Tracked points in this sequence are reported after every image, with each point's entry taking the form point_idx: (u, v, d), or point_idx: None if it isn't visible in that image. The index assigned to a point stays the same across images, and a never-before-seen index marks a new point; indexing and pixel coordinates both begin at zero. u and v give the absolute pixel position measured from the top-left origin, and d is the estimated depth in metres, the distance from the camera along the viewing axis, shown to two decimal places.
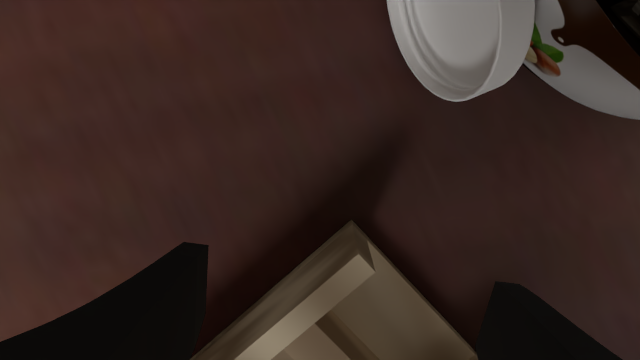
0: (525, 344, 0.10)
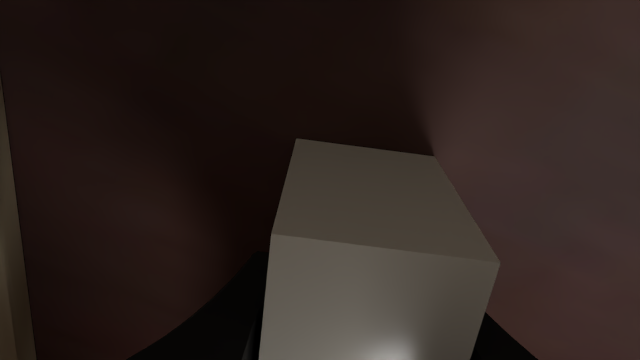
0: None
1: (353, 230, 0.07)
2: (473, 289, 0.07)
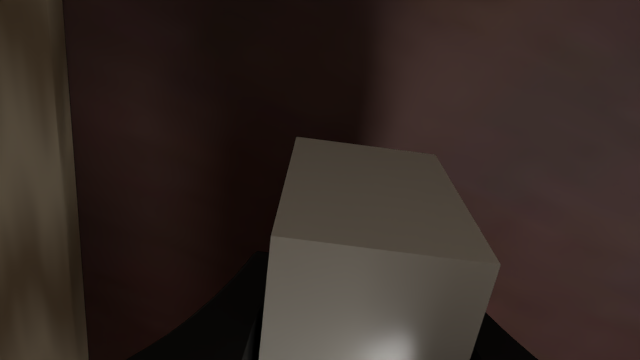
0: None
1: (353, 231, 0.07)
2: (473, 291, 0.07)
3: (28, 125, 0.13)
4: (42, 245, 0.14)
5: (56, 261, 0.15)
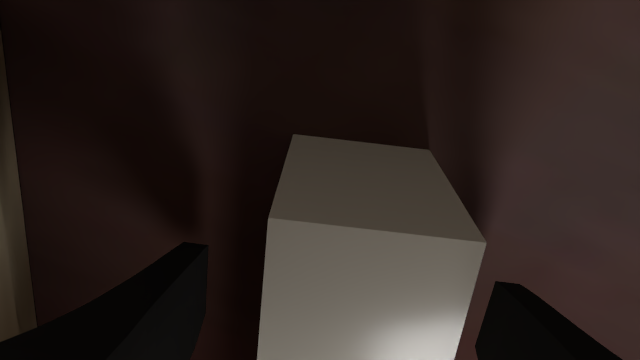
0: (524, 344, 0.10)
1: (346, 214, 0.08)
2: (461, 269, 0.08)
3: None
4: None
5: None
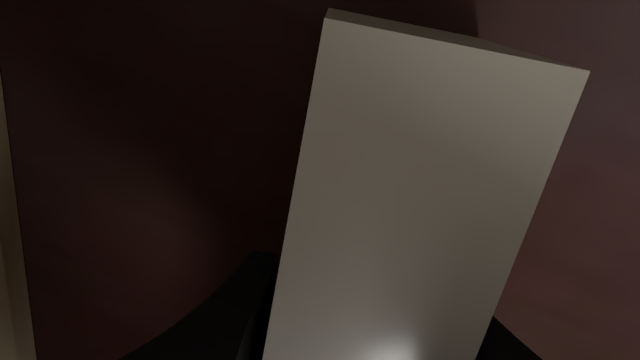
0: None
1: (416, 34, 0.06)
2: (554, 107, 0.06)
3: None
4: None
5: None
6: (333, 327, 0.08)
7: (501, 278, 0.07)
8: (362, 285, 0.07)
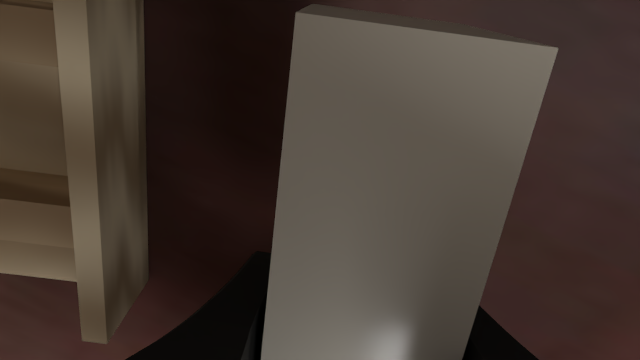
0: None
1: (386, 23, 0.07)
2: (525, 85, 0.06)
3: (120, 8, 0.16)
4: (124, 113, 0.18)
5: (131, 133, 0.19)
6: (327, 313, 0.08)
7: (487, 257, 0.07)
8: (353, 269, 0.08)
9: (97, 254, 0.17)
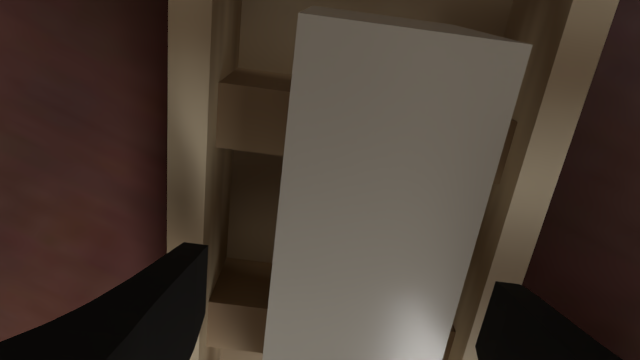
0: (525, 344, 0.10)
1: (380, 22, 0.07)
2: (504, 78, 0.07)
3: None
4: None
5: None
6: (327, 288, 0.09)
7: (472, 235, 0.08)
8: (349, 247, 0.08)
9: None
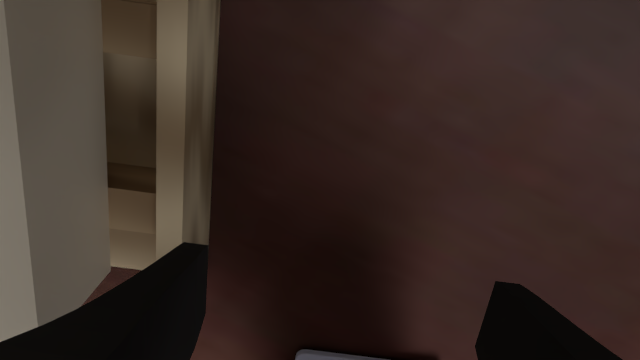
0: (525, 344, 0.10)
1: None
2: None
3: (207, 4, 0.17)
4: (203, 104, 0.18)
5: (206, 124, 0.19)
6: None
7: (3, 38, 0.12)
8: None
9: (177, 238, 0.18)
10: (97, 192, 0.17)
